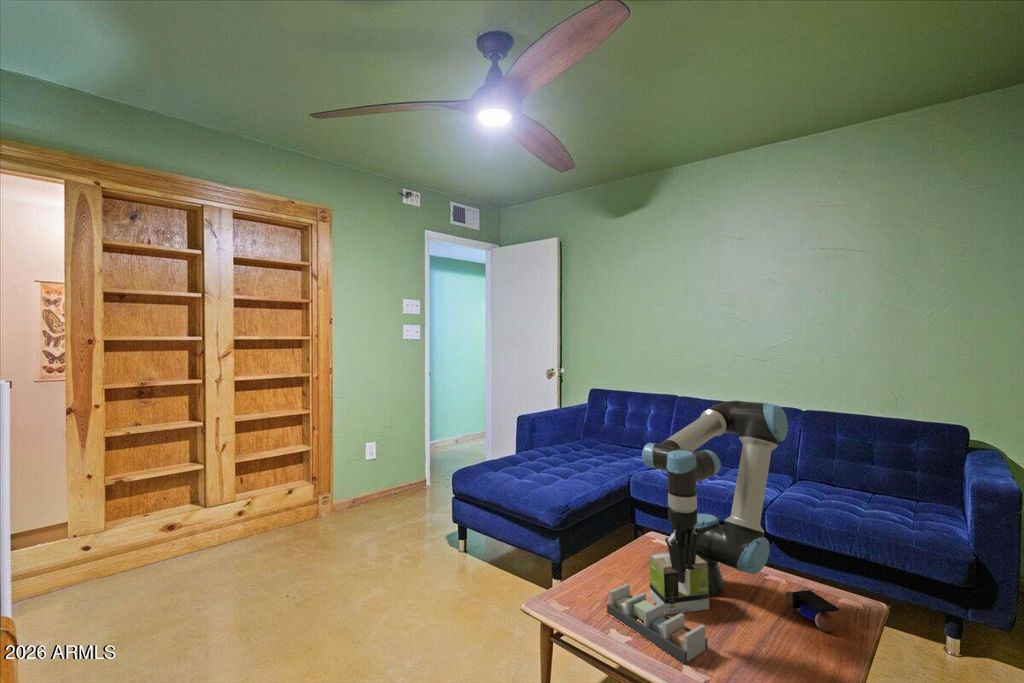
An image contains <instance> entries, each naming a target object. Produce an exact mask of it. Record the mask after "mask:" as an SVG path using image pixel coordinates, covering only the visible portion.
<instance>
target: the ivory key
mask: <svg viewBox="0 0 1024 683" xmlns="http://www.w3.org/2000/svg"><path fill="white" fill-rule="evenodd" d="M628 599H630V598H628V597H625V598H623V599H620V600H618V601H616V608H617V609H619V610H620V611H622V612H624V613H625V601H626V600H628Z"/></svg>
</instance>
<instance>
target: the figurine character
mask: <svg viewBox="0 0 1024 683" xmlns="http://www.w3.org/2000/svg"><path fill="white" fill-rule="evenodd" d="M784 597H785V600H786V602H787V603H788V604H790V605H792V608H793V610H794V611H795V612H796V613H798V615H799V614H800V615H801V616H802V617H805V618H808V619H809V620H811V621H814V623H815V625H816V627H817V628H818V629H820V630H821V631H823V632H825V633H829V632H833V631H834V630H835V628H836V626H837V625H836V624H837V623H836V620H835V618H834V617H833V616H832V615H831V614H830V612H838V611H840V608H839V607H837V606H836V605H835V604H833V603H831V602H830V601H828V600H827V599H825V598H823V597H822V596H820V595H818V594H817V593H815V592H814V591H813V590H810V589H809V590H806V589H805V590H798V591H786V592H785V593H784Z"/></svg>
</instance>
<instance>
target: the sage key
mask: <svg viewBox="0 0 1024 683" xmlns="http://www.w3.org/2000/svg"><path fill="white" fill-rule="evenodd" d="M653 606H655V605H654V604H652V603H650V602H648V601H647V600H646V601H645V600H642V601H640V602H638V603H636V604H633V614H634V615H636V616H637V617H639V618H641V619H642V620H643V611H645V610H647V609H649V608H651V607H653Z"/></svg>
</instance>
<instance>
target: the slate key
mask: <svg viewBox="0 0 1024 683" xmlns="http://www.w3.org/2000/svg"><path fill="white" fill-rule="evenodd" d="M665 621H667V619H665V618H663V617H661V618H659V619H657V620H655V621H654V622H652V630H653V631H654V632H656V633H658V634H659V635H661V636H663V622H665Z"/></svg>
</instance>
